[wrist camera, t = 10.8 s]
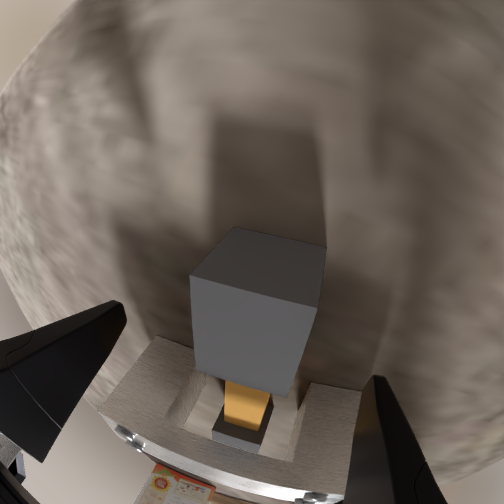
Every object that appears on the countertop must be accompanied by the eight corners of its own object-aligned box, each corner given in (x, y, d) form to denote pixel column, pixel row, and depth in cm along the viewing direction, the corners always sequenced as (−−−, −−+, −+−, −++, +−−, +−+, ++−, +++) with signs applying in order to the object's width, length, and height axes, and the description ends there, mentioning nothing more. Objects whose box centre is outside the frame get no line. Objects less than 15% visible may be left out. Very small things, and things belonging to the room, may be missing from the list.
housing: (343, 419, 16) (326, 509, 10) (164, 369, 19) (116, 440, 13) (364, 391, 14) (352, 500, 8) (156, 335, 17) (95, 414, 11)
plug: (273, 418, 18) (259, 461, 15) (224, 403, 19) (205, 444, 16) (326, 247, 11) (317, 308, 8) (234, 226, 12) (189, 275, 8)
